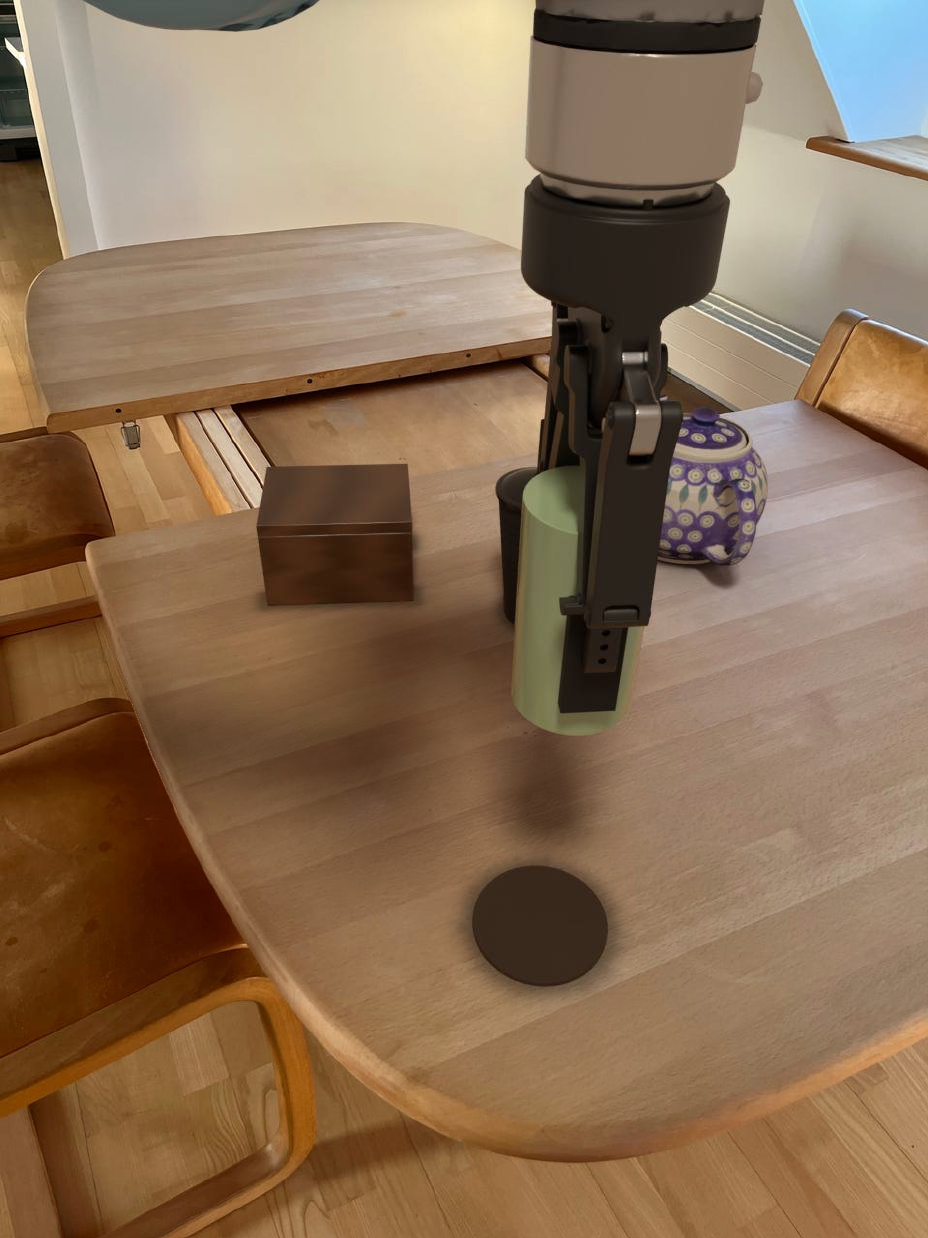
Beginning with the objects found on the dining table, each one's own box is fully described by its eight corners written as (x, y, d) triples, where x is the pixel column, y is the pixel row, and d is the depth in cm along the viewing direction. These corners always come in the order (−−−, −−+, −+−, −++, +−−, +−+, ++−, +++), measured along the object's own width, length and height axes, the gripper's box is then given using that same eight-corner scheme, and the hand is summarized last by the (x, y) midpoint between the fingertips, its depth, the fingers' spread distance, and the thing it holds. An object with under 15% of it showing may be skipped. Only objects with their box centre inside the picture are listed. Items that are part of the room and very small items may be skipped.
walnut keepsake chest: (267, 605, 90) (256, 525, 84) (275, 542, 98) (266, 466, 93) (413, 600, 91) (412, 521, 85) (409, 538, 99) (407, 463, 94)
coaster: (479, 991, 59) (479, 987, 58) (466, 872, 66) (467, 868, 65) (620, 981, 59) (621, 978, 59) (593, 865, 66) (593, 861, 66)
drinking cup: (491, 637, 86) (501, 441, 74) (487, 588, 92) (496, 400, 80) (573, 637, 87) (597, 442, 74) (564, 589, 93) (585, 400, 80)
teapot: (798, 603, 92) (839, 466, 82) (648, 615, 89) (672, 477, 80) (706, 477, 111) (731, 355, 102) (581, 484, 109) (595, 361, 100)
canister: (519, 739, 47) (533, 538, 40) (504, 657, 52) (514, 465, 45) (644, 733, 47) (681, 533, 40) (617, 652, 52) (646, 461, 45)
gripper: (831, 258, 27) (697, 799, 41) (662, 124, 42) (607, 552, 56) (572, 261, 26) (527, 808, 40) (496, 124, 41) (482, 556, 56)
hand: (573, 658), depth 48 cm, fingers closed on canister, 6 cm apart
